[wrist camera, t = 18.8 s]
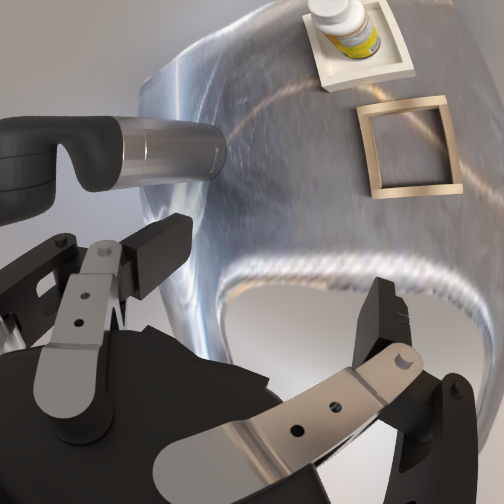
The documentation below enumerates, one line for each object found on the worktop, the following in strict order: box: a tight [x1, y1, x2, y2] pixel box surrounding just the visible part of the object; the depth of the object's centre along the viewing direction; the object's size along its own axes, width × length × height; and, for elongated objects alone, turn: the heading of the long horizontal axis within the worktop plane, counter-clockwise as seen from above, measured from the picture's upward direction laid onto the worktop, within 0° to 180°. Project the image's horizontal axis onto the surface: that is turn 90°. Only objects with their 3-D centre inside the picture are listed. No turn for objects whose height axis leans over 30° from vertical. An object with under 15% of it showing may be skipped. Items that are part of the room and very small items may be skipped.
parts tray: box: [302, 0, 416, 92], centre depth 25 cm, size 11×11×2 cm
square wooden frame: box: [356, 95, 463, 199], centre depth 26 cm, size 10×10×2 cm
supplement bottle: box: [308, 0, 381, 60], centre depth 21 cm, size 6×6×10 cm
